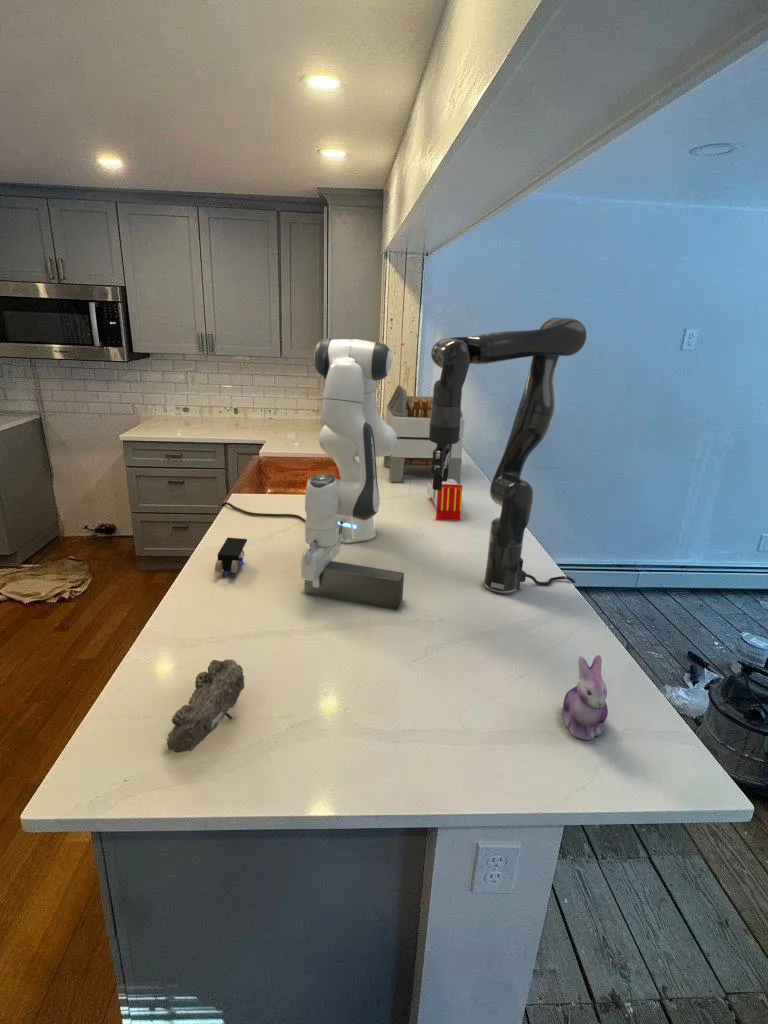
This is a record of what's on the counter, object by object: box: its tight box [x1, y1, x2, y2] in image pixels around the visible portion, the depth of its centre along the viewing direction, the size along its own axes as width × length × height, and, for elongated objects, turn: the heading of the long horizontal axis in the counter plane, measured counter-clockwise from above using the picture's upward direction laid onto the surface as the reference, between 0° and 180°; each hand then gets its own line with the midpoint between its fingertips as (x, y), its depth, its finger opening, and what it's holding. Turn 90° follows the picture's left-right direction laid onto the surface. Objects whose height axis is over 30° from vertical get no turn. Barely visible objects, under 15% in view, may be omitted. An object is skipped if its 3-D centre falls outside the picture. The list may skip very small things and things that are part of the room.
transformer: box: [383, 384, 465, 484], centre depth 268 cm, size 34×33×41 cm
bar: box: [304, 560, 405, 611], centre depth 154 cm, size 26×5×8 cm, turn 74°
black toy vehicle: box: [214, 537, 248, 578], centre depth 166 cm, size 7×8×15 cm
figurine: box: [561, 654, 609, 741], centre depth 108 cm, size 9×10×15 cm
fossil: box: [166, 658, 245, 754], centre depth 106 cm, size 22×10×15 cm
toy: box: [426, 478, 463, 521], centre depth 226 cm, size 12×13×30 cm
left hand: (321, 581), depth 156 cm, fingers closed on bar, 5 cm apart
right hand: (440, 485), depth 146 cm, fingers open, 8 cm apart
